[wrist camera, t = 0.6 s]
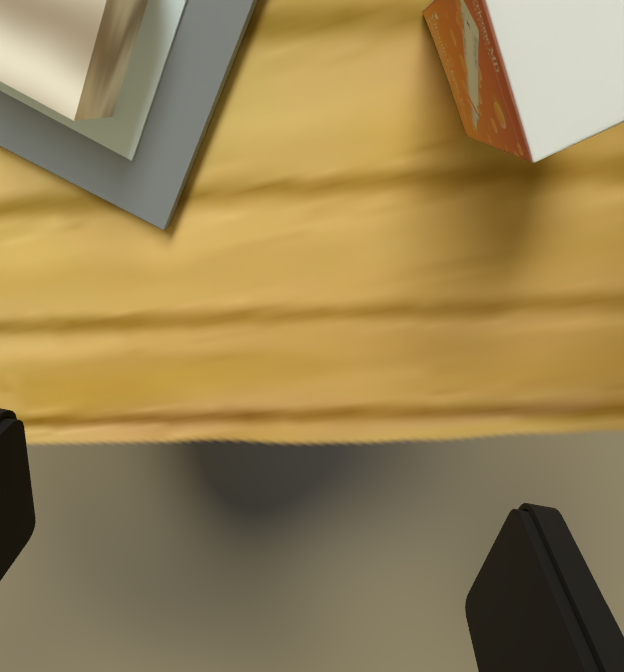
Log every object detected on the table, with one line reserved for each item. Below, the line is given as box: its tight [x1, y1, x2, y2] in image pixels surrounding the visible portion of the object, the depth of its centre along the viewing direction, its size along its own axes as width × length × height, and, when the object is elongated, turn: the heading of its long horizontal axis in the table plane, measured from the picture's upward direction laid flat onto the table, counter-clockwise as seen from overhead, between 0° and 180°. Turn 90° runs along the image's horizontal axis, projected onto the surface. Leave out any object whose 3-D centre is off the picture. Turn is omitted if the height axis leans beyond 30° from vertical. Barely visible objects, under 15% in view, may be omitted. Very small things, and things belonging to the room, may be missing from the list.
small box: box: [423, 0, 624, 163], centre depth 24 cm, size 8×6×13 cm
